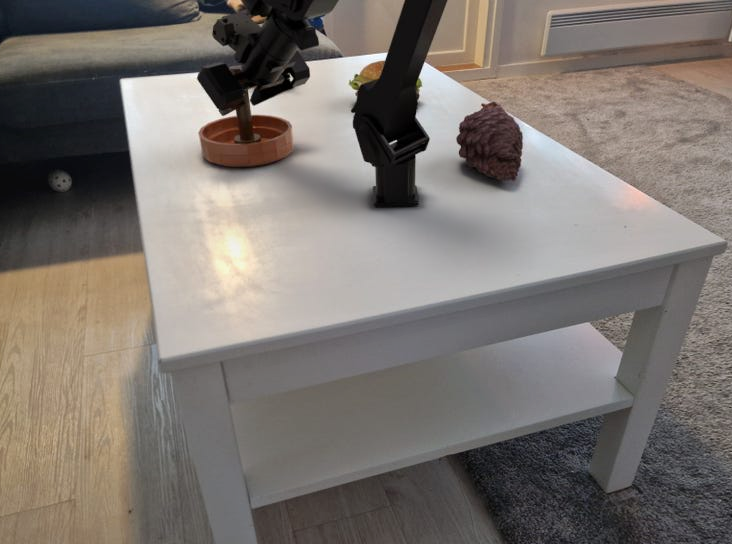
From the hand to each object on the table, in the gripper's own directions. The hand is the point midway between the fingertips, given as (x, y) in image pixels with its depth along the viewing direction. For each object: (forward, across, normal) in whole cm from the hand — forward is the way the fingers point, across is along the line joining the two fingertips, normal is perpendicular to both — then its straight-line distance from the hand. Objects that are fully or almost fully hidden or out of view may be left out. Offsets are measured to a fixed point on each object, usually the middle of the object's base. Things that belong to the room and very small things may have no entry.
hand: (237, 108), depth 106 cm
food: (+2, -35, +8) cm, 36 cm away
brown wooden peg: (+4, 0, +6) cm, 7 cm away
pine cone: (-22, -17, +32) cm, 42 cm away
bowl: (+4, 0, +6) cm, 7 cm away
